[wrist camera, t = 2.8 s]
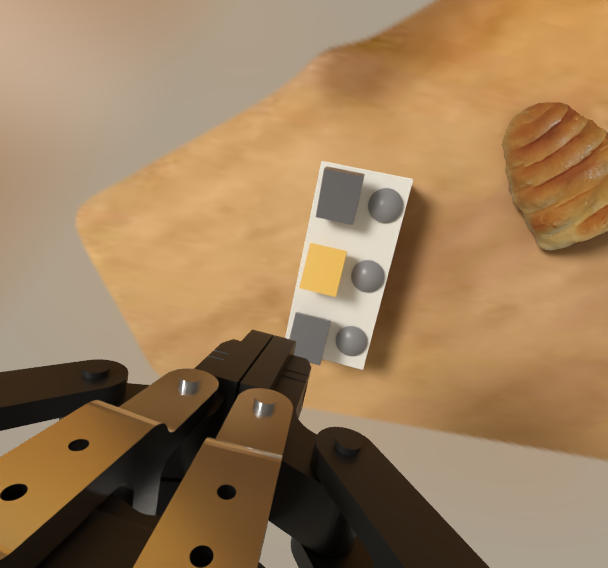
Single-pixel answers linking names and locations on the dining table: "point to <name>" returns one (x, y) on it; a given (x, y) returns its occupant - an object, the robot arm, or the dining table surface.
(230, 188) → the dining table surface
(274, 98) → the dining table surface
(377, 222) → the white switch panel
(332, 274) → the rocker middle
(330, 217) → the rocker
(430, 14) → the dining table surface
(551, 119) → the pastry
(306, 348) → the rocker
